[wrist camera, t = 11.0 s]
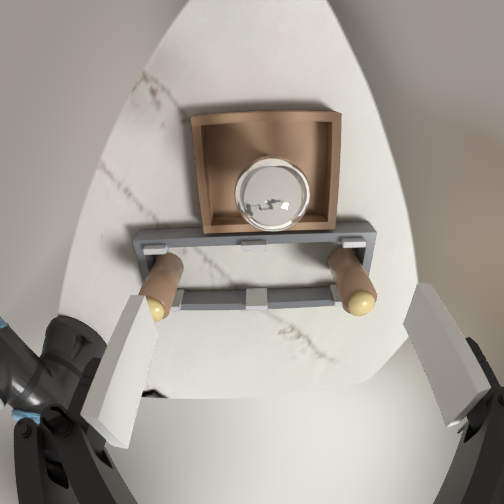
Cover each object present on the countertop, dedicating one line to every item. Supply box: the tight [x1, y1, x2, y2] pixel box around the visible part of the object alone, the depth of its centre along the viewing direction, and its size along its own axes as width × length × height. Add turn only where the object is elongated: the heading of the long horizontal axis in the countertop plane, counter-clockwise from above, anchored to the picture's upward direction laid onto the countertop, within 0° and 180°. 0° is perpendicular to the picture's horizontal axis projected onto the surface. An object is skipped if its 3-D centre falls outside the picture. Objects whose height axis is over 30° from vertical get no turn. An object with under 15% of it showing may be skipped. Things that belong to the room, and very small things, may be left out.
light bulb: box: [234, 156, 310, 231], centre depth 29 cm, size 7×7×12 cm
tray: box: [191, 110, 341, 234], centre depth 33 cm, size 16×14×3 cm
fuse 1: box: [138, 253, 184, 322], centre depth 38 cm, size 4×4×10 cm
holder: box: [133, 222, 377, 311], centre depth 40 cm, size 31×12×4 cm, turn 93°
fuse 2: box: [328, 247, 377, 316], centre depth 37 cm, size 4×4×10 cm
